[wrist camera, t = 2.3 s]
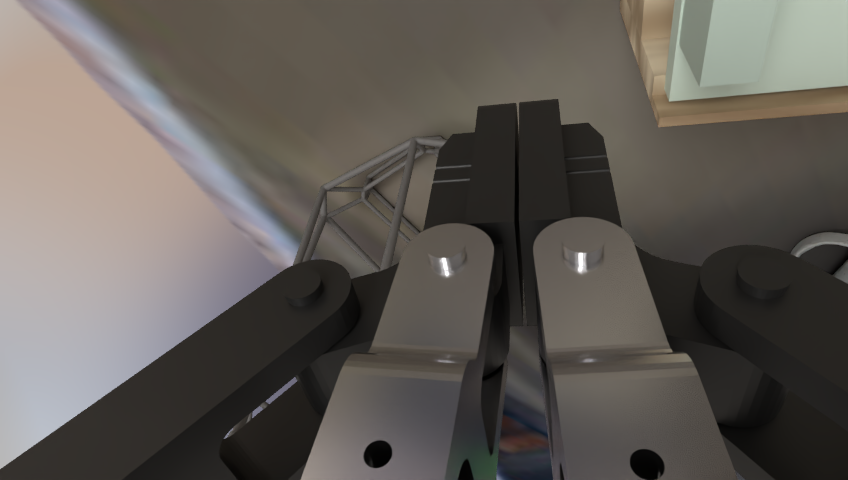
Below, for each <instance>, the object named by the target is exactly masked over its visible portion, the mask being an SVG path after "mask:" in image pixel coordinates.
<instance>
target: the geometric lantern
mask: <svg viewBox="0 0 848 480" xmlns="http://www.w3.org/2000/svg"><path fill="white" fill-rule="evenodd" d="M446 141H447V140H444V139H443V138H442V137H441V136H434V137H413V138H411V139H409V140H407V141H405V142H403V143H401V144H399V145H397V146H396V147H394V148H392V149H390V150H388V151H386V152H384V153H382V154H381V155H379V156H377V157H375V158H373V159H371V160H369V161H367V162H366V163H364V164H362V165H360V166H358V167H356V168H354V169H352V170H351V171H349V172H347V173H345V174H343V175H341V176H339V177H337V178H336V179H334V180H332V181H330V182H328V183H326V184H324V185H322V186H321V188H320V191H319V193H318V196H317V199H316V201H315V204H314V207H313V210H312V212H311V215H310V218H309V221H308V224H307V227H306V229H305V232H304V235H303V238H302V241H301V244H300V246H299V249H298V252H297V255H296V258H295V261H294V263H293V265H295V264H298V263H301V262H305V261H309V260H311V257H312V255H313V252H314V250H315V247H316V245H317V242H318V240H319V237H320V235H321V233H322V230H323V228H324V225H325V223H326V222H327V223H328V224H329V225H330V226H331V227H332V228H333V229H334V230H335V231H336V232H337V234H338V235H339V236H340V237H341V238H342V239H343V240H344V241H345V242H346V243H347V244H348V245H349V246H350V247H351V248H352V249H353V250H354V251H355V252H356V253H357V254H358V255H359V256H360V257H361V258H362V259H363V260H364V261H365V262H366V263H367V264H368V265H369V266H370V267H371V268H372V269H373V270H374V271H375V272H378V271H381V270H384V269H387V268H390V267H391V264H392V259H393V255H394V250H395V246H396V241H397V237H398V235H399V236H401V237H402V238H403V239H404V240H405V241H406V242H407V243H409V242H410V241H411V240H410V239H409V238H408V237H407V236H406V235H405V234H403V233H402V232H401V231H400V230H399V228H400V223H401V221H402V222H403V223H404V224H405V225H407V226H408V227H409V228H410V229H411V230H412V231H413V232H414V233H415V234H416V235H418V234H419V233H420V232H419V231H418V230H417V229H416V228H415V227H413V226H412V225H411V224H410V223H409V222H408V221H407V220H406V219H405V218H404V217H403V216H402V214H403V210H404V205H405V201H406V196H407V192H408V187H409V183H410V178H411V174H412V170H413V165H414V160H415V159H416V158H418V157H419V156H421V155H422V154H424V153H430V154H434V155H435V156H436V157H437V158H438V154H439V149H440V148H441V147H442V146H443V145H444V144H445V143H446ZM425 145H428V146H435V147H434V149H429V148H425ZM417 147H418V148H419V151H418V152H417V153H416V150H417ZM404 150H405V151H404ZM402 151H403V152H402ZM400 152H402V153H400ZM398 153H400V154H399V155H397V156H396V157H394V158H393V159H391V160H390V161H388V162H387V163H385V164H384V165H382V166H381V167H379V168H378V169H376V170H375V171H373V172H372V173H370V174H369V175H368V176H367V177H366V180H365V183H364V186H363V187H335V186H337V185H339V184H341V183H343V182H345V181H347V180H349V179H351V178H352V177H354V176H356V175H358V174H360V173H362V172H364V171H366V170H368V169H370V168H372V167H373V166H375V165H377V164H379V163H381V162H383V161H385V160H387V159H389V158H391V157H393V156H394V155H396V154H398ZM405 155H407V159H406V160H404V161H403V162H401V163H400V164H398V165H397V166H395V167H394V168H392V169H391V170H389V171H388V172H386V173H385V174H383V175H382V176H380V177H379V178H377V179H376V180H374V181H373V182H371V178H372V177H374V176H375V175H377V174H378V173H380V172H381V171H383V170H384V169H386V168H387V167H389V166H390V165H392V164H393V163H395V162H396V161H398V160H399V159H401V158H402V157H404V156H405ZM404 166H405V168H404V172H403V177H402V181H401V185H400V189H399V193H398V197H397V202H396V206H395V209H394V208H393V207H392V206H391V205H390V204H389V203H388V202H387V201H386V200H385V199H384V198H383V197H382V196H381V195H380V194H379V193H378V192H377V191H375V190H374V189H373V186H375V185H376V184H378V183H379V182H381V181H382V180H384V179H386V178H387V177H389V176H390V175H392V174H393V173H395V172H396V171H398V170H399V169H401V168H402V167H404ZM327 191H338V192H361V198H359V199H357V200H355V201H352V202H350V203H348V204H346V205H344V206H342V207H340V208H338V209H336V210H334V211H332V212H330V213H328V214H327ZM370 192H371V193H372V194H374V195H375V196H376V197H377V198H378V199H379V200H380V201H381V202H382V203H383V204H384V205H385V206H386V207H387V208H388V209H389V210H391V211H392V212H393V213H394V214H393V218H392V222H390V221H389V220H388V219H387V218H386V217H385V216H384V215H383V214H382V213H381V212H380V211H379V210H377V209H376V208H375V207H374V206H373V205H372V204H371V203H370V202H369V201H368V200H367V199H368V197H369V194H370ZM360 202H363V203H364V204H366V205H367V206H368V207H369V208H370V209H371V210H372V211H373V212H374V213H375V214H377V215H378V216H379V217H380V218H381V219H382V220H383V221H384V222H385V223H386V224H387V225H389V226H390V231H389V235H388V239H387V243H386V247H385V252H384V256H383V260H382V264H381V268H380V267H379V266H378V265H377V264H376V263H375V262H374V261H373V260H372V259H371V258H370V257H369V256H368V255H367V254H366V253H365V252H364V251H363V250H362V249H361V248H360V247H359V246H358V245H357V244H356V243H355V242H354V241H353V240H352V239H351V238H350V237H349V236H348V235H347V234H346V232H345V231H344V230H343V229H342V228H341V227H340V226H339V225H338V224H337V223H336V222H335V221H334V220H333V219H332V218H331V217H332V216H334V215H336V214H338V213H340V212H342V211H344V210H346V209H348V208H350V207H352V206H354V205H356V204H358V203H360ZM319 212H320V213H321V217H320V220H319V222H318V225H317V227H316V229H315V232H314V234H313V236H312V239H311V241H310V238H311V235H312V232H313V229H314V226H315V224H316V221H317V218H318V215H319ZM309 241H310V244H309ZM308 244H309V246H308ZM307 247H308V248H307ZM306 250H307V251H306ZM268 405H269V404H268V403H266V402H263V403H262V404H261V405H260V407H262V408H263V409H264V408H266V407H267V406H268ZM251 419H252V412H251V413H250V414H249V415H248V416H246V417H245V418H244V419H243V420H241V421H240V422H239V423H238V424H237V425H235V426H234V428H233V430H232V431H231V432H230V433H229V435H228V437H230V436H231V435H233V434H234V433H235V432H237V431H238V430H239V429H240V428H241V427H243V426H244V425H245V424H246V423H247V422H249V421H250V420H251ZM228 437H227V438H228Z"/></svg>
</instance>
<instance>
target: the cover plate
mask: <svg viewBox="0 0 848 480" xmlns="http://www.w3.org/2000/svg"><path fill="white" fill-rule="evenodd" d="M838 86H848V0H675V2H674V10H673V19H672V27H671V36H670V44H669V52H668V61H667V69H666V78H665V86H664V90H665V92H666V95H667V98H668V100H669V102H670V101H681V100H692V99H704V98H715V97H726V96H737V95H748V94H760V93H771V92H782V91H793V90H804V89H816V88H827V87H838Z"/></svg>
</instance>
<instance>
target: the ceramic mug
mask: <svg viewBox="0 0 848 480" xmlns="http://www.w3.org/2000/svg"><path fill="white" fill-rule="evenodd" d="M823 244H837V245H841V246H845V247H848V234H841V233H833V232H823V233H818V234H814V235H811V236H809V237H807V238H805V239H803V240H802V241H800V242H799V243H798V244H797V245H796V246H795V247H794V248H793V250H792V251H791V253H790V254H792V255H794V256H796V257H798V258H799V257H800V255H801V254H802V253H804V252H805V251H808V250H810V249H812V248H814V247H815V246H819V245H823ZM832 276H834V277H836V278H838V279H840V280H842V281H844V282H845V283H847V284H848V260H847V261H846V262H845V263H844V264H843V265H842V266H841V267H840V268H839V269H838V270H837V271H836V272H835V273H834V274H833V275H832Z"/></svg>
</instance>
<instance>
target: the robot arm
mask: <svg viewBox="0 0 848 480" xmlns="http://www.w3.org/2000/svg"><path fill="white" fill-rule="evenodd" d="M433 182H434V184H432V189H431V194H430V200H429V205H428V210H427V215H426V220H425V225H424V230H423V231H422V232H421V233H419V234H418V235H416V236H415V237H414V238H413V239H412V240H411V241H410V242H409V243H408V244H407V245H406V247H405V249H404V251H403V253H402V256H401V259H400V262H399V263H398V264H396V265H394V266H392V267H390V268H387V269H384V270H381V271H378V272H375V273H371V274H368V275H364V276H360V277H357V278H353V279H351V278H350V275H349V273H348V272H347V270H346V269H345V268H344V267H343V266H342V265H340V264H338V263H336V262H333V261H329V260H309V261H305V262H301V263H298V264H295V265H293V266H291V267H289V268H287V269H285V270H283V271H282V272H280V273H279V274H277V275H276V276H275V277H273V278H272V279H270V280H269V281H267V282H266V283H265V284H263V285H262V286H260V287H259V288H257V289H256V290H255V291H253V292H252V293H251V294H249V295H247V296H246V297H245V298H243V299H242V300H240V301H239V302H238V303H236V304H235V305H233V306H232V307H231V308H229V309H228V310H226V311H225V312H223V313H222V314H220V315H219V316H218V317H216V318H215V319H213V320H212V321H210V322H209V323H208V324H206V325H205V326H204V327H202V328H201V329H199V330H198V331H196V332H195V333H193V334H192V335H191V336H189V337H188V338H186V339H185V340H183V341H182V342H181V343H179V344H178V345H176V346H175V347H174V348H172V349H171V350H169V351H168V352H166V353H165V354H164V355H162V356H161V357H159V358H158V359H157V360H155V361H154V362H152V363H151V364H149V365H148V366H146V367H145V368H144V369H142V370H141V371H139V372H138V373H137V374H135V375H134V376H132V377H131V378H129V379H128V380H127V381H125V382H124V383H122V384H121V385H120V386H118V387H117V388H115V389H114V390H112V391H111V392H110V393H108V394H107V395H105V396H104V397H102V398H101V399H100V400H98V401H97V402H96V403H94V404H92V405H91V406H90V407H88V408H87V409H85V410H84V411H83V412H81V413H80V414H78V415H77V416H75V417H74V418H73V419H71V420H70V421H69V422H67V423H65V424H64V425H63V426H61V427H60V428H58V429H57V430H56V431H54V432H53V433H51V434H50V435H49V436H47V437H46V438H44V439H43V440H41V441H40V442H38V443H37V444H36V445H34V446H33V447H31V448H30V449H28V450H27V451H26V452H24V453H23V454H21V455H20V456H19V457H17V458H16V459H14V460H13V461H11V462H10V463H9V464H7V465H6V466H4V467H3V468H1V469H0V480H496V472H497V459H498V450H499V441H500V432H501V423H502V414H503V405H504V396H505V387H506V378H507V369H508V361H507V355H508V352H509V341H510V326H523V280H524V293H525V306H526V319H527V326H537V327H538V344H539V360H540V372H541V380H542V389H543V397H544V405H545V413H546V421H547V429H548V437H549V446H550V454H551V462H552V470H553V480H738V478H737V476H736V473H735V471H737V472H738V473H739V474H740V475H741V476H742V477H743V478H745V479H746V480H848V284H847V283H845V282H844V281H842V280H840V279H838V278H836V277H834V276H832V275H830V274H828V273H827V272H825V271H823V270H821V269H819V268H817V267H815V266H813V265H812V264H810V263H808V262H806V261H804V260H802V259H800V258H798V257H796V256H794V255H792V254H790V253H787V252H784V251H782V250H779V249H775V248H770V247H765V246H758V245H740V246H733V247H728V248H725V249H722V250H719V251H717V252H715V253H713V254H712V255H711V256H709V257H708V258H707V259H706V260H705V262H704V263H703V264H702V267H699V266H694V265H689V264H683V263H678V262H673V261H669V260H665V259H661V258H658V257H655V256H653V255H651V254H649V253H646V252H644V251H643V250H641V249H640V248H638V247H637V246H636V245H634V243H633V241H632V238H631V237H630V236H629V235H628V233H627V232H626V231H624V230H623V229H622V226H621V221H620V216H619V211H618V206H617V202H616V197H615V192H614V187H613V182H612V177H611V173H610V168H609V163H608V158H607V153H606V148H605V144H604V139H603V136H602V135H601V134H600V133H598V132H597V131H596V130H595V129H594V128H593V127H592V126H591V125H590V124H589V123H580V124H568V125H561V121H560V111H559V102H558V99H552V100H541V101H530V102H520V103H519V132H518V117H517V106H516V103H510V104H499V105H489V106H479V107H478V111H477V119H476V128H475V132H474V133H462V134H453V135H452V136H451V137H450V138H449V139H448V140H447V141H446V143H445V144H444V145H443V146H442V147H441V148H440V149H439V154H438V159H437V164H436V170H435V174H434V179H433ZM294 377H296V379H297V382H296V383H295V384H294V385H292V386H291V387H290V388H289V389H288V390H287V391H285V392H284V393H283V394H282V395H280V396H279V397H278V398H277V399H275V400H274V401H273V402H272V403H271V404H269V405H268V406H267V407H266V408H264V409H263V410H262V411H261V412H260V413H258V414H257V415H256V416H255V417H254V418H252V419H251V420H250V421H249V422H247V423H246V424H245V425H244V426H243V427H241V428H240V429H239V430H238V431H237V432H235V433H234V434H233V435H231V436H230V437H228V438H226V439H224V437H225V436H226V434H227V433H228V432H229V431H230V430H231V429H232V428H233V427H234V426H235V425H237V424H238V423H239V422H240V421H241V420H243V419H244V418H245V417H246V416H248V415H249V414H250V413H251V412H252V411H254V410H255V409H256V408H257V407H259V406H260V405H261V404H262V403H263V402H265V401H266V400H267V399H268V398H270V397H271V396H272V395H273V394H274V393H276V392H277V391H278V390H279V389H280V388H282V387H283V386H284V385H285V384H287V383H288V382H289V381H290V380H291V379H293V378H294Z"/></svg>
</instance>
